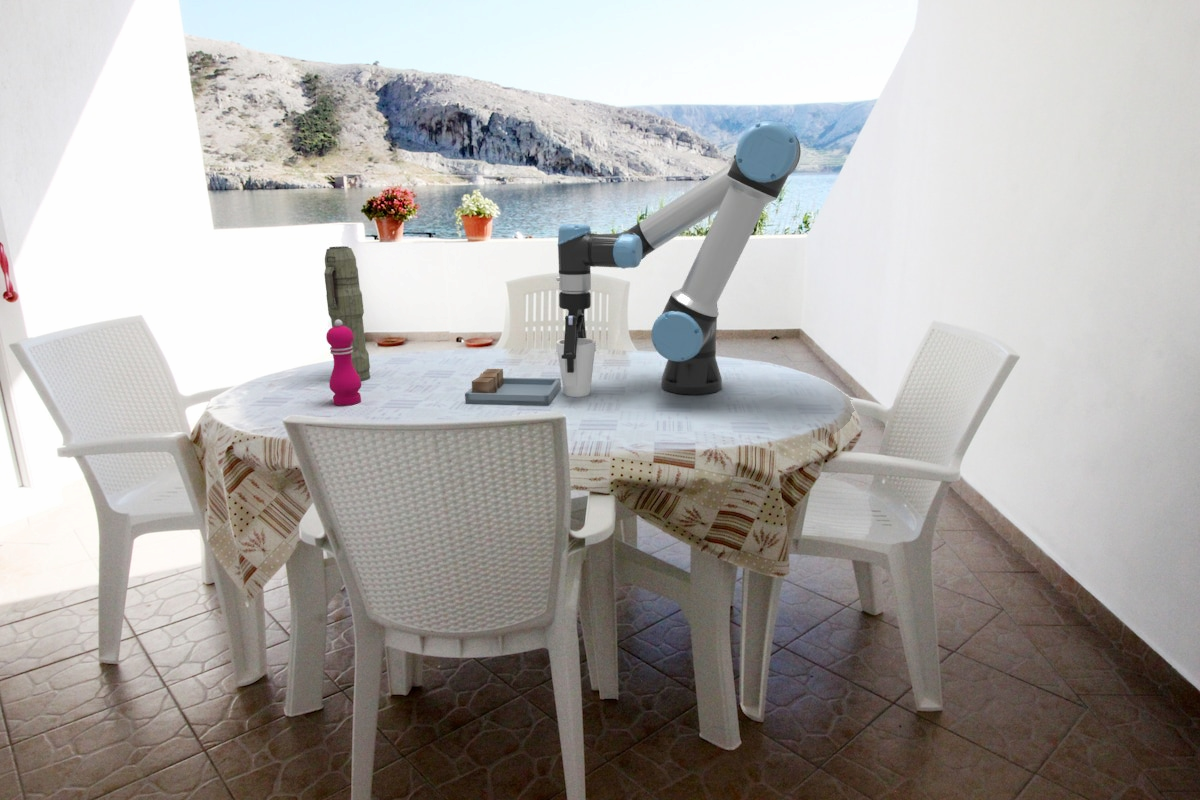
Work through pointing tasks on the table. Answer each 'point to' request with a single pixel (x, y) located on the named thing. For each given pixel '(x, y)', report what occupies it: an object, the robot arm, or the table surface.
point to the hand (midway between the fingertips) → (575, 378)
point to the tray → (519, 392)
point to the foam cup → (579, 366)
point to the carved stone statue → (347, 302)
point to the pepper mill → (343, 366)
